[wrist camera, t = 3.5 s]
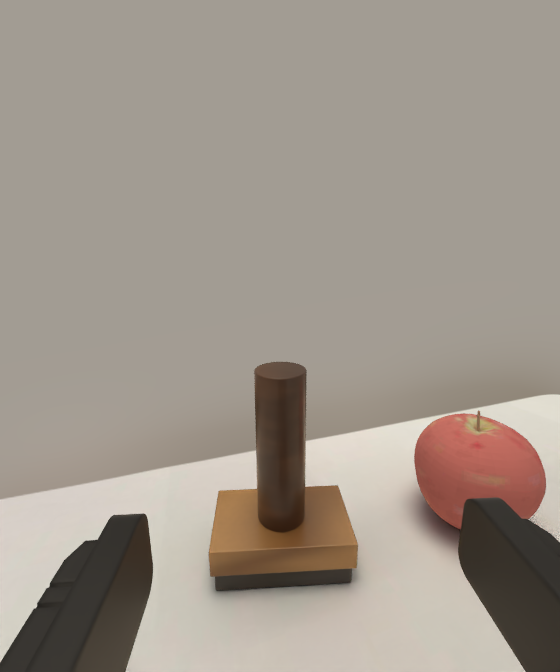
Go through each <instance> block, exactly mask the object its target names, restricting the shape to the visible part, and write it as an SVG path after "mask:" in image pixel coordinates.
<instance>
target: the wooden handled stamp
mask: <svg viewBox="0 0 560 672" xmlns="http://www.w3.org/2000/svg"><path fill="white" fill-rule="evenodd" d="M254 374H255V412H256V413H255V415H256V455H257V489H248V490H226V491H219V493H218V499H217V505H216V511H215V517H214V524H213V530H212V536H211V542H210V548H209V563H210V576H211V577H213V576H215V587H216V590H233V589H250V588H266V587H283V586H300V585H316V584H333V583H349V582H351V573H352V568H357V551H358V544H357V541H356V538H355V535H354V532H353V529H352V526H351V523H350V520H349V517H348V514H347V511H346V508H345V505H344V502H343V499H342V496H341V493H340V490H339V487H338V486H315V487H305V445H306V369H305V367H303V366H301V365H299V364H296V363H290V362H271V363H266V364H262V365H260V366H258V367H257V368H256V369H255V371H254Z"/></svg>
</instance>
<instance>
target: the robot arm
mask: <svg viewBox="0 0 560 672" xmlns="http://www.w3.org/2000/svg"><path fill="white" fill-rule="evenodd" d="M458 553H459V560H460V564H461V567H462V570H463V572H464V574H465V576H466V578H467V580H468V581H469V583H470V584H471V586H472V588H473V589H474V591H475V592H476V594H477V595H478V597H479V599H480V600H481V602H482V603H483V605H484V607H485V608H486V610H487V611H488V613H489V614H490V616H491V618H492V619H493V621H494V622H495V624H496V625H497V627H498V629H499V630H500V632H501V633H502V635H503V636H504V638H505V640H506V641H507V643H508V644H509V646H510V648H511V649H512V651H513V652H514V654H515V655H516V657H517V659H518V660H519V662H520V663H521V665H522V666H523V668H524V670H525V671H526V672H560V542H558V541H557V540H556V539H555V538H554V537H553V536H552V535H551V534H550V533H548V532H547V531H545V530H544V529H542V528H540V527H539V526H537V525H536V524H534V523H533V522H531V521H529V520H528V519H522V518H521V517H520V516H519V515H518V514H517V513H516V512H515V511H514V510H513V509H512V508H511V507H510V506H509V505H508V504H507V503H506V502H505V501H504V500H502V499H501V498H498V497H493V498H472V499H467V500H466V501H465V503H464V508H463V516H462V523H461V531H460V539H459V547H458ZM152 576H153V562H152V554H151V545H150V536H149V527H148V519H147V516H146V515H145V514H128V515H113V516H112V517H111V518H110V519H109V520H108V522H107V524H106V526H105V528H104V529H103V531H102V533H101V535H100V537H99V538H98V540H91V541H85V542H84V543H83V544H81V545H80V546H79V547H78V548H77V549H76V550H75V551H74V552H73V553H72V554H71V555H70V556H68V557H67V558H66V559H65V560H64V562H63V563H62V565H61V566H60V568H59V570H58V571H57V573H56V574H55V576H54V578H53V579H52V581H51V582H50V587H49V588H47V589H46V590H45V592H44V594H43V595H42V597H41V598H40V600H39V602H38V603H37V608H36V609H34V610H33V611H32V613H31V614H30V616H29V618H28V619H27V621H26V622H25V624H24V626H23V627H22V629H21V630H20V632H19V634H18V635H17V637H16V638H15V640H14V642H13V643H12V645H11V646H10V648H9V650H8V651H7V653H6V654H5V656H4V658H3V659H2V661H1V662H0V672H125V670H126V667H127V664H128V661H129V658H130V655H131V651H132V648H133V645H134V642H135V639H136V636H137V633H138V629H139V626H140V623H141V620H142V617H143V614H144V610H145V607H146V604H147V601H148V598H149V594H150V590H151V584H152Z"/></svg>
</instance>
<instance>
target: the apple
mask: <svg viewBox="0 0 560 672" xmlns="http://www.w3.org/2000/svg"><path fill="white" fill-rule="evenodd" d="M414 459H415V469H416V475H417V480H418V484H419V487H420V489H421V492H422V494H423V496H424V498H425V500H426V501H427V503H428V505H429V506H430V507H431V508H432V510H433V511H434V512H435V513H436V514H437V515H438V516H440V517H441V518H442V519H443V520H444V521H446V522H447V523H449V524H450V525H452V526H454V527H456V528H458V529H460V530H461V523H462V516H463V508H464V503H465V501H466V500H467V499H472V498H493V497H498V498H501V499H502V500H504V501H505V502H506V503H507V504H508V505H509V506H510V507H511V508H512V509H513V510H514V511H515V512H516V513H517V514H518V515H519V516H520V517H521V518H522V519H529V518H530V517H531V516H532V515H533V514H534V513H535V512H536V511H537V509H538V508H539V506H540V504H541V502H542V499H543V497H544V495H545V489H546V478H545V472H544V469H543V466H542V463H541V460H540V458H539V456H538V454H537V452H536V450H535V449H534V448H533V446H532V445H531V444H530V443H529V442H528V440H527V439H525V438H524V437H523V436H522V435H520V434H519V433H518V432H516V431H515V430H513V429H511V428H510V427H508V426H506V425H504V424H502V423H500V422H497V421H495V420H492V419H489V418H486V417H483V416H480V411H478V415H474V414H454V415H449V416H445V417H443V418H440V419H437V420H435V421H434V422H432V423H431V424H430V425H428V426H427V427H426V428H425V429H424V431H423V432H422V433H421V435H420V436H419V438H418V440H417V444H416V448H415V456H414Z"/></svg>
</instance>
